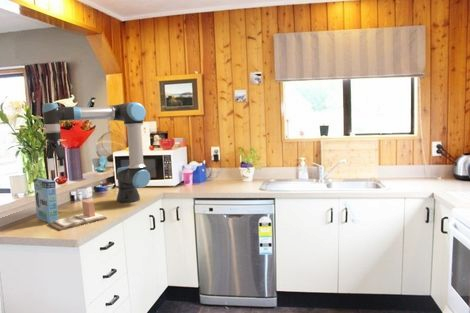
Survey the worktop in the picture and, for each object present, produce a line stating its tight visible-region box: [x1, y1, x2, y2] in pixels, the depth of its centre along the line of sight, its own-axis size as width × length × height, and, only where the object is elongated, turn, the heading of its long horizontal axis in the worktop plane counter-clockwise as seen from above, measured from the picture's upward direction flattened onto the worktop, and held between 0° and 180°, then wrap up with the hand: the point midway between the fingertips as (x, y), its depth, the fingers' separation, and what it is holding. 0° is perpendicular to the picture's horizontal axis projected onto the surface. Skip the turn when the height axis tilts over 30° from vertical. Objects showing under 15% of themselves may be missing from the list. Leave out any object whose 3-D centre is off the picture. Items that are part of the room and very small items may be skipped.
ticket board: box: [47, 215, 108, 232], centre depth 198 cm, size 25×16×2 cm, turn 137°
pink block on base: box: [74, 199, 105, 222], centre depth 203 cm, size 10×14×9 cm
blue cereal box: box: [33, 177, 59, 224], centre depth 205 cm, size 19×5×23 cm, turn 47°
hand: (56, 171), depth 199 cm, fingers open, 13 cm apart
